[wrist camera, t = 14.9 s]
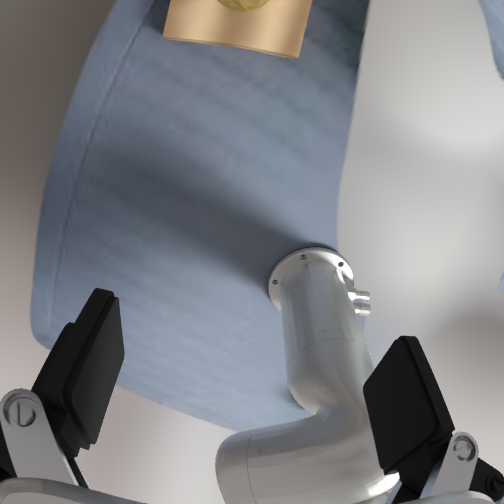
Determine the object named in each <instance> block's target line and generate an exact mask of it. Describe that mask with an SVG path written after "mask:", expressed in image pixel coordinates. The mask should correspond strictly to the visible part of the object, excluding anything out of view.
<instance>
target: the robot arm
mask: <svg viewBox="0 0 504 504" xmlns="http://www.w3.org/2000/svg"><path fill="white" fill-rule="evenodd" d="M353 286H354V276H353V272H352V269H351V267H350V265H349V263H348V262H347V260H346V259H345V258H344V257H343V256H342V255H340V254H339V253H337V252H335V251H333V250H330V249H326V248H321V247H311V248H304V249H301V250H298V251H295V252H293V253H291V254H289V255H287V256H286V257H284V258H283V259H282V260H281V261H280V262H279V263H278V264H277V265H276V266H275V268H274V269H273V271H272V272H271V275H270V278H269V284H268V288H269V295H270V299H271V301H272V303H273V305H274V306H275V307H276V308H277V309H278V310H279V311H280V312H282V323H283V334H284V346H285V358H286V370H287V382H288V387H289V390H290V392H291V394H292V396H293V397H294V399H295V400H296V401H297V402H298V403H299V404H300V405H301V406H302V407H303V408H304V409H305V410H306V411H308V412H309V413H310V414H312V415H313V416H311V417H308V418H304V419H300V420H298V421H294V422H289V423H284V424H279V425H274V426H268V427H263V428H258V429H252V430H247V431H242V432H239V433H236V434H233V435H231V436H229V437H228V438H226V439H225V440H224V441H223V442H222V443H221V445H220V447H219V449H218V451H217V454H216V460H215V470H216V477H217V482H218V485H219V488H220V491H221V494H222V496H223V498H224V501H225V503H226V504H504V477H503V475H502V474H501V473H500V472H499V471H498V470H496V469H495V468H493V467H492V466H490V465H489V464H487V463H486V462H484V461H483V460H481V459H480V458H478V452H479V451H478V445H477V443H476V441H475V440H474V438H473V437H472V436H471V435H469V434H468V433H465V432H458V433H455V434H454V435H453V434H452V432H453V431H454V430H455V427H454V425H453V422H452V419H451V417H450V414H449V411H448V409H447V406H446V404H445V401H444V399H443V396H442V393H441V391H440V389H439V386H438V384H437V381H436V379H435V377H434V374H433V372H432V369H431V367H430V365H429V363H428V361H427V358H426V356H425V354H424V352H423V349H422V347H421V345H420V343H419V341H418V339H417V338H416V337H415V336H400V337H399V338H398V339H397V340H395V341H394V342H393V344H392V345H391V347H390V348H389V350H388V351H387V353H386V354H385V355H384V357H383V359H382V360H381V361H380V363H379V364H378V365H377V367H376V368H375V369H374V366H373V363H372V359H371V356H370V353H369V350H368V347H367V344H366V341H365V338H364V335H363V332H362V329H361V326H360V323H359V320H358V317H357V315H359V316H368V315H369V314H370V310H371V307H370V305H369V304H365V303H354V302H352V301H353V300H354V299H359V300H363V301H368V300H369V296H370V294H369V292H366V291H357V290H356V289H355V288H354V287H353ZM123 360H124V344H123V336H122V327H121V317H120V307H119V298H118V297H114V293H113V292H112V291H108V290H104V289H99V288H96V289H94V291H93V292H92V294H91V296H90V297H89V299H88V301H87V302H86V304H85V306H84V307H83V309H82V311H81V313H80V314H79V316H78V318H77V320H76V321H75V323H71V322H69V323H68V324H66V326H65V327H64V328H63V330H62V332H61V334H60V336H59V337H58V339H57V341H56V343H55V344H54V346H53V348H52V350H51V352H50V354H49V356H48V358H47V359H46V361H45V363H44V365H43V367H42V369H41V371H40V373H39V375H38V377H37V379H36V381H35V383H34V385H33V387H32V389H31V391H30V390H27V389H22V388H20V389H14V390H12V391H10V392H8V393H7V394H6V395H5V396H4V397H3V398H2V400H1V402H0V504H146V503H141V502H137V501H133V500H128V499H124V498H120V497H117V496H113V495H109V494H106V493H102V492H98V491H94V490H92V489H91V487H90V485H89V484H88V481H87V480H86V478H85V476H84V474H83V472H82V470H81V468H80V466H79V464H78V461H77V459H76V457H77V456H78V453H79V449H80V447H81V448H84V449H87V450H89V447H90V444H95V443H96V441H97V438H98V435H99V432H100V428H101V425H102V422H103V419H104V416H105V413H106V410H107V407H108V404H109V400H110V398H111V395H112V392H113V389H114V386H115V383H116V380H117V377H118V374H119V371H120V369H121V366H122V363H123ZM395 484H396V485H395ZM394 485H395V487H394V489H393V490H392V492H391V493H389V492H388V491H387V490H389V489H390V488H391V487H393V486H394Z"/></svg>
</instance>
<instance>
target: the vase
mask: <svg viewBox="0 0 504 504" xmlns="http://www.w3.org/2000/svg"><path fill="white" fill-rule="evenodd" d="M218 1H219V2H220V3H221V4H223V5H224V6H226V7H227V8H230V9H233V10H237V11H250V10H254V9H257V8H260V7H262V6H263V5H265V4H266V3H267V2H268V1H269V0H218Z"/></svg>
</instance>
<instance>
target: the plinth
mask: <svg viewBox="0 0 504 504" xmlns="http://www.w3.org/2000/svg"><path fill="white" fill-rule="evenodd" d="M311 3H312V0H269V1H268V2H267V3H266V4H265V5H263V6H262V7H260V8H257V9H254V10H250V11H237V10H233V9H230V8H227V7H226V6H224V5H223V4H221V3H220V2H219V1H218V0H171V1H170V5H169V10H168V14H167V18H166V23H165V27H164V32H163V37H164V38H166V39H169V40H171V41H181V42H192V43H202V44H211V45H218V46H226V47H232V48H239V49H245V50H250V51H256V52H261V53H266V54H271V55H276V56H280V57H285V58H289V59H293V60H294V59H296V58H298V57H299V53H300V49H301V45H302V41H303V36H304V32H305V28H306V24H307V20H308V16H309V11H310V7H311Z"/></svg>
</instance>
